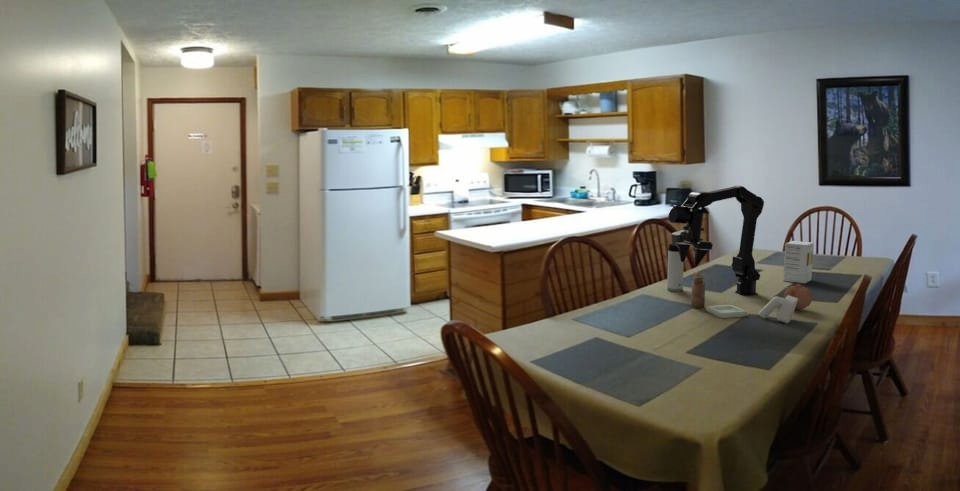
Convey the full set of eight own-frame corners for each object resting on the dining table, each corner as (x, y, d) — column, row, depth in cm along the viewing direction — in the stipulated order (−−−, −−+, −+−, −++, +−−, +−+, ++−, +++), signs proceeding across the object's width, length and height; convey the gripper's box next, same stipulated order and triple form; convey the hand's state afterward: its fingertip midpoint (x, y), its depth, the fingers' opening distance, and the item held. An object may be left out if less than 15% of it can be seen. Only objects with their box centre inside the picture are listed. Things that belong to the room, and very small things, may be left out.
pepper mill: (700, 305, 261) (701, 270, 259) (706, 308, 256) (708, 272, 254) (688, 306, 260) (689, 270, 258) (695, 309, 255) (696, 273, 253)
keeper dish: (730, 309, 255) (730, 304, 254) (746, 316, 245) (746, 311, 245) (706, 311, 252) (706, 306, 252) (721, 318, 243) (721, 313, 242)
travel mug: (684, 291, 283) (685, 244, 279) (667, 291, 284) (669, 243, 281) (682, 288, 289) (684, 241, 285) (666, 288, 290) (668, 241, 287)
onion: (787, 305, 258) (788, 279, 256) (814, 309, 252) (815, 282, 251) (779, 311, 251) (781, 284, 249) (807, 315, 245) (808, 287, 243)
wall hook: (760, 313, 246) (768, 287, 243) (789, 323, 241) (798, 297, 238) (754, 318, 240) (763, 292, 237) (785, 329, 235) (794, 302, 232)
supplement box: (804, 283, 294) (807, 245, 291) (782, 281, 300) (784, 243, 297) (811, 280, 301) (814, 242, 298) (789, 277, 307) (792, 240, 304)
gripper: (663, 220, 272) (658, 259, 274) (690, 226, 255) (684, 267, 257) (687, 222, 276) (682, 260, 278) (716, 228, 258) (710, 268, 260)
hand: (689, 264), depth 268 cm, fingers open, 9 cm apart
